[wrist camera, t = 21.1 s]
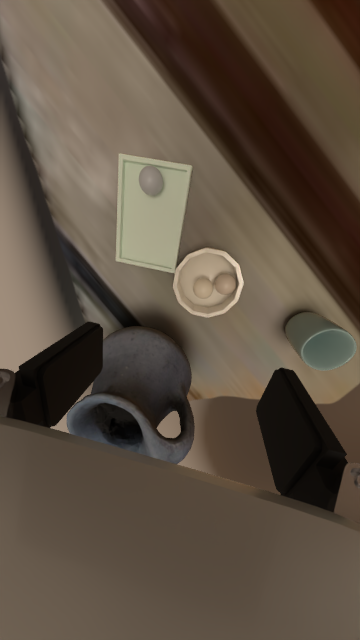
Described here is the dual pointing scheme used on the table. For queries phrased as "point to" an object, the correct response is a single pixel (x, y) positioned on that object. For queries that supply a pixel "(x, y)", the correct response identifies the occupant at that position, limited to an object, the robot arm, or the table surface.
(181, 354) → the pitcher
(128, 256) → the tray
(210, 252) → the bowl
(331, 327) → the cup
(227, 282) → the pebble
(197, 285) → the pebble
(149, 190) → the pebble
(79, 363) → the robot arm
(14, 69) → the table surface
